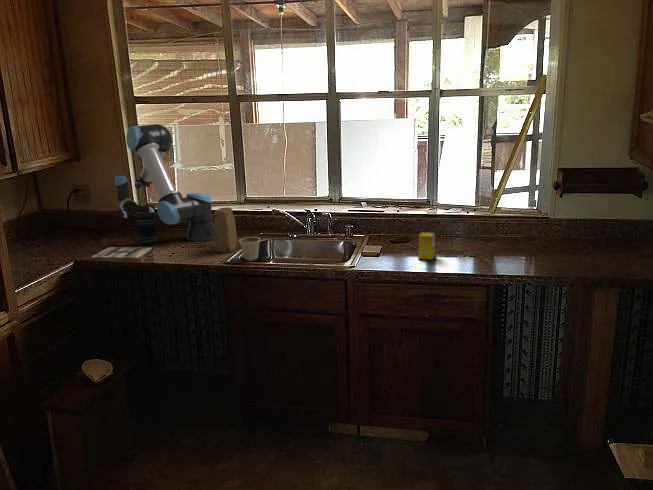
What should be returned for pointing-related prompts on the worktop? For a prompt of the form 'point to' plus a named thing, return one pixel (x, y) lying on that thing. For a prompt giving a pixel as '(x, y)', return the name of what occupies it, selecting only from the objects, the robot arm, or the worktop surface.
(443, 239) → the worktop surface
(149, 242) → the dark blue can
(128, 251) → the board
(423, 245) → the supplement box
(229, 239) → the block
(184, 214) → the robot arm
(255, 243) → the flower pot
